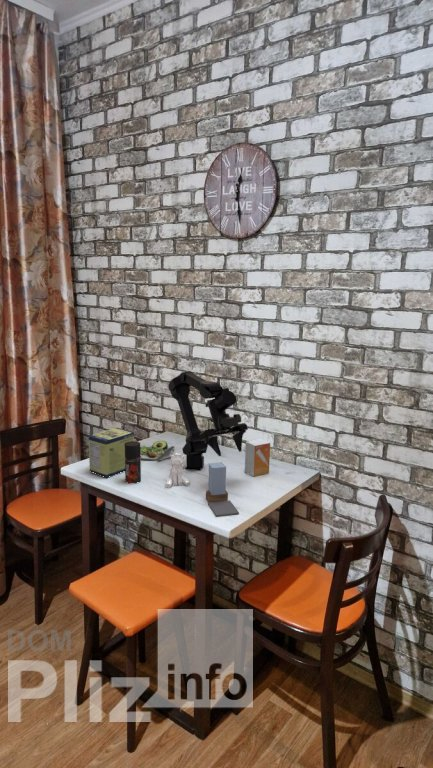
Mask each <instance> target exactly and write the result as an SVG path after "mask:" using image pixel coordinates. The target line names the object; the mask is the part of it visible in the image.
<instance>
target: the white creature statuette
mask: <svg viewBox="0 0 433 768" xmlns="http://www.w3.org/2000/svg"><path fill="white" fill-rule="evenodd" d="M185 457H186V455H185V454H183V455H182V453H180V452H176V453H173V455H170V457H169V458H171V462H172V463H171V464H172V465H171V467H170V470H169V474H168V479H167V480H166V482H165V486H164V487H165V488H166V489H170V488H171V487H177V486H178V487H180V486H182V487H183V486H185V487H187V488H188V487H189V488H190V486H191V481H190V480H189V479H188V478H187V477H186V476H185V475H184V473H183V472H184V470H183V467H182V464H183V463H184V458H185ZM167 487H168V488H167Z"/></svg>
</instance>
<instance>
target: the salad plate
mask: <svg viewBox="0 0 433 768" xmlns="http://www.w3.org/2000/svg"><path fill="white" fill-rule="evenodd" d="M174 449H175V446H173V445H172V446H168V443H167V441H165V440H157V441H155V442H153V443H152V445H142V446H141V445H140V453H141V461H149V462H150V461H151V462H152V461H162V460H165V459H169V458H171V457H170V455H174V451H173V450H174ZM144 456H148V457H144Z"/></svg>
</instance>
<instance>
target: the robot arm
mask: <svg viewBox="0 0 433 768" xmlns="http://www.w3.org/2000/svg"><path fill="white" fill-rule="evenodd" d="M167 387H168V391H169V392H170V395H171V397H172V398H174V399H175V401H177V404H178V408H179V410H180V411H179V412H180V413H181V417H182V420H183V423H184V427H185V430H186V437H185V445H183V447H182V448H181V449H182V454H183V455H185V457H186V459H185V460H186V462H185V463H186V466H185V470H189V471H191V470H192V471H202V469H203V468H204V466H205V456H203V454H207V451H208V447H210V448H211V449H212V450H213V451H214V452H215V453H216V454H217V456H218V457H222V452H221V448H220V446H219V445H220V444H219V442H218V438H219V437H218V436H220V435H228V434H232V438H233V441H234V444H235V446H236V448H237V450H238V452H239V453H240V452H242V448H243V447H242V445H243V437H244V435H245V434H246V432H247V431H248V430H249V427H248V425H247V423H246V422H243V423H242V416H241V414H240V413H234V414H233V416H230V414H229V413H227V412H226V410H228V409H229V408H231V407H232V406H234V405H235V404H236V402H237V396H236V395H235V393H234V392H233V391H231V390H230V389H229V388H228V387H227V388H224V387H223V386H222V385H221V384H220V382H216V381H209V380H206V379H204V378H202V377H200V376H198V375H197V374H195V373H194V372H193V371H182V372H181V373H180V374H179V375H177V376H176V377H174V378H172V379H171V380H170V381H169V383H168V386H167ZM191 387H192V388H194V389H195V390H198V392H199V395H200V396H201V397H202V398H204V399H205V400H207V401H206V403H205V408H208V410H209V413H210V417H211V419H210V423H213V427H214V428H209V429H208V428H207V429H204V430H200V428H199V425H198V423H197V420H196V416H195V413H194V410H193V407H192V403H191V401H190V397H189V396H190V393H191Z"/></svg>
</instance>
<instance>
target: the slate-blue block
mask: <svg viewBox="0 0 433 768" xmlns="http://www.w3.org/2000/svg"><path fill="white" fill-rule="evenodd" d="M207 466H208V468H207V469H208V473H207V474H208V475H207V476H208V477H207V478H208V480H207V483H208V484H207V485H208V486H207V488H208V489H207V490H209V492H210V493H211V495H220V494H226V491H227V466H226V465H225V463H223V461H220V462H219V461H218V462H209V463H208V465H207Z"/></svg>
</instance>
